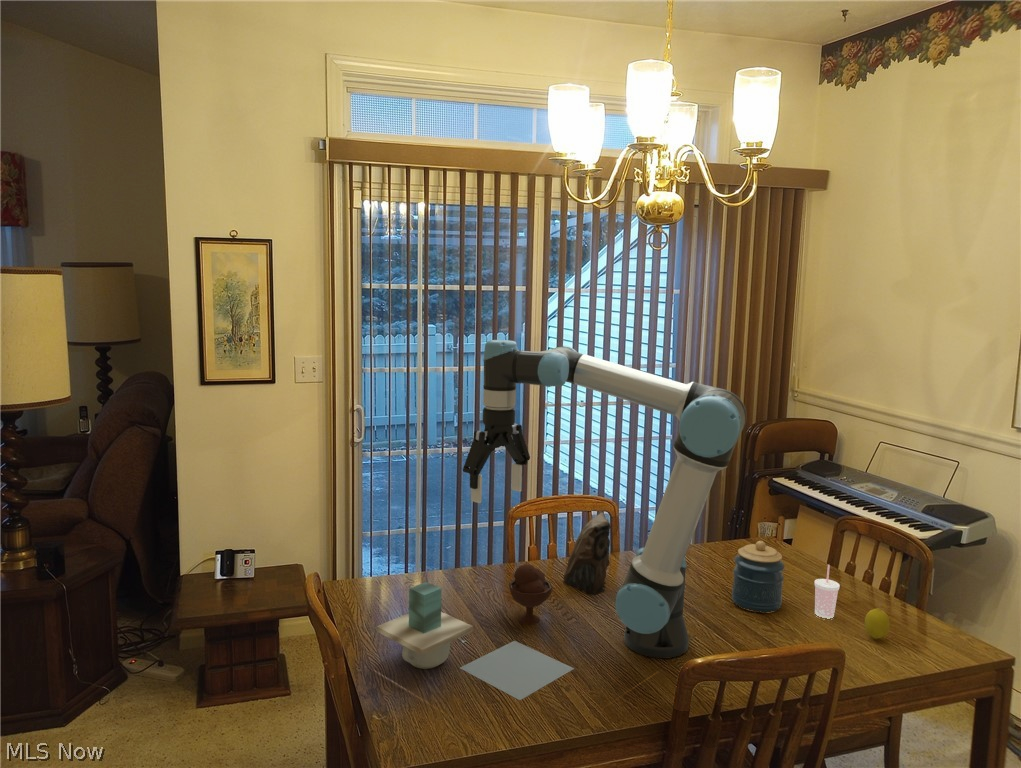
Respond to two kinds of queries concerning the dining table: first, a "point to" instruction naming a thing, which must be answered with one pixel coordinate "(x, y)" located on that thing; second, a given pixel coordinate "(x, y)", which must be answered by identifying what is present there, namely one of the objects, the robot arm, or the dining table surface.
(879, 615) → the lemon
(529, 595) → the ice cream bowl
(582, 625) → the dining table surface
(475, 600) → the dining table surface
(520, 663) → the mat
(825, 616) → the beverage cup
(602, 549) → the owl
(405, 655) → the teacup
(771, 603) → the canister
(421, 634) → the lid
